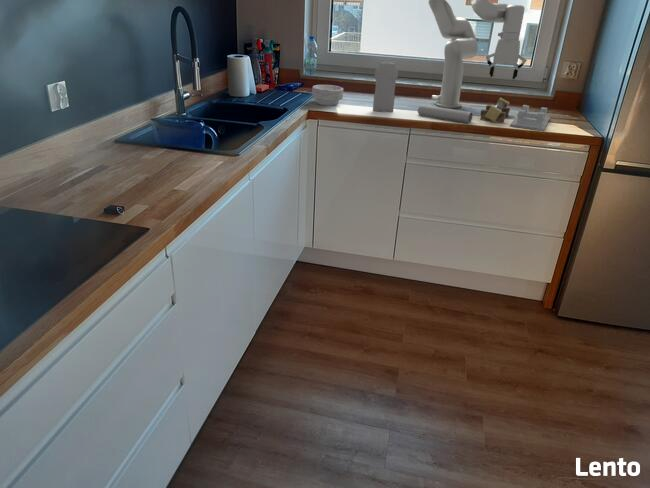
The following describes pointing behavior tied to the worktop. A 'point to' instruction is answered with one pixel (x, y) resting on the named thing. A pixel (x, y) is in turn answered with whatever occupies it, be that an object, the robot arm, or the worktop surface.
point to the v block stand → (531, 119)
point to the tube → (445, 114)
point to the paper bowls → (327, 94)
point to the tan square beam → (496, 109)
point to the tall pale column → (385, 87)
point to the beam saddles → (500, 117)
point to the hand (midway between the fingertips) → (502, 77)
